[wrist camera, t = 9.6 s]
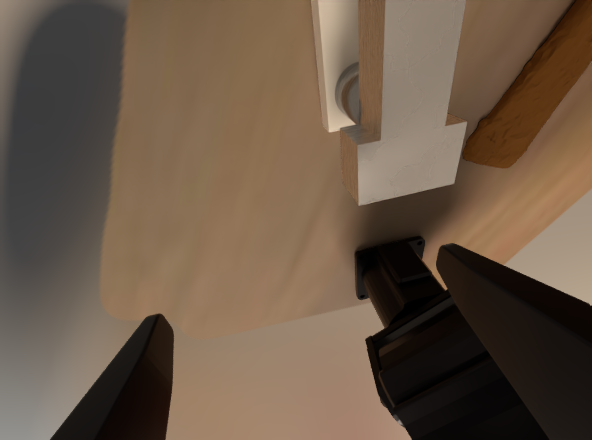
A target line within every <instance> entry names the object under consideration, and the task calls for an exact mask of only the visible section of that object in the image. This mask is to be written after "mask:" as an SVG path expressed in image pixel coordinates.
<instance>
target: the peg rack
mask: <svg viewBox="0 0 592 440" xmlns="http://www.w3.org/2000/svg"><path fill="white" fill-rule="evenodd" d="M311 8H312V19H313V29H314V40H315V50H316V61H317V71H318V81H319V92H320V102H321V113H322V123H323V126H324V127H325V128H326V130H327V131H328V132H334V131H338V130H340V128H341V127H345V126H350V125H355V124H360V112H359V41H358V0H311Z"/></svg>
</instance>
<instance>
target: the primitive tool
mask: <svg viewBox="0 0 592 440" xmlns="http://www.w3.org/2000/svg"><path fill="white" fill-rule="evenodd" d="M591 61H592V0H576V1H575V3H574V4H573V5H572V7H571V8H570V9H569V11H568V12H567V13H566V15H565V16H564V17H563V19H562V20H561V22H560V23H559V24H558V26H557V27H556V29H555V30H554V31H553V33H552V34H551V35H550V36H549V38H548V39H547V40H546V42H545V43H544V44H543V45H542V47H541V48H539V49H538V50H537V51H536V53H535V54H534V56H533V58H532V60H531V61H529V62H528V63H527V64H526V65H525V67H524V69H523V71H522V73H521V74H520V75H519V76H518V77H517V79H516V81H515V83H514V84H513V85H512V86H511V87H510V88H509V90H508V91H507V92H506V93H505V94H504V95H503V97H502V99H501V100H500V101H499V103H498V104H497V105H496V106H495V107H494V109H493V110H492V111H491V113H490V114H489V115H488V116H487V117H486V118H485V119H482V120H481V121H480V122H479V125H478V128H477V129H476V131H475V132H474V133H473V134H472V135H471V136H470V137H469V139H468V140H467V142H466V144H467V145H466V146H465V148H464V150H463V158H464V159H465V160H466V161H472V162H474V163H477V164H482V165H487V166H492V167H497V168H508V167H510V166H512V165H513V164H514V163H515V162H516V161H517V159H519V158H520V157H521V156H522V155H523V154H524V153H525V151H526V150H527V148H528V146H529V145H530V143H531V142H532V141H533V139H534V138H535V137H536V135H537V134H538V132H539V131H540V129H541V128H542V127H543V125H544V124H545V123H546V121H547V120H548V119H549V117H550V116H551V114H552V113H553V111H554V110H555V109H556V107H557V106H558V105H559V103H560V102H561V101H562V99H563V98H564V97H565V95H566V94H567V93H568V91H569V90H570V89H571V87H572V86H573V85H574V84H575V82H576V81H577V80H578V79H579V77H580V76H581V75H582V73H583V72H584V71H585V69H586V68H587V66H588V65H589V63H590V62H591Z"/></svg>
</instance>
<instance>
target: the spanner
mask: <svg viewBox="0 0 592 440" xmlns="http://www.w3.org/2000/svg"><path fill="white" fill-rule="evenodd" d="M465 3H466V0H358V41H359V112H360V124H355V125H350V126H345V127H341V128H340V145H341V163H342V180H343V184H344V185H345V187H346V188H347V190H348V191H349V193H350V194H351V195H352V197H353V198H354V200H355V201H356V203H357V204H358V206H361V205H365V204H369V203H373V202H378V201H382V200H386V199H391V198H395V197H399V196H404V195H408V194H412V193H416V192H421V191H425V190H429V189H434V188H438V187H442V186H446V185H451V184H454V182H455V177H456V173H457V168H458V163H459V159H460V154H461V149H462V144H463V140H464V135H465V130H466V126H467V121H465V120H463V119H460V118H458V117H456V116H453V115H451V114H449V113H447V111H448V105H449V99H450V93H451V87H452V81H453V75H454V69H455V63H456V57H457V51H458V45H459V39H460V33H461V27H462V21H463V15H464V9H465Z"/></svg>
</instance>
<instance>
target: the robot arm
mask: <svg viewBox="0 0 592 440" xmlns="http://www.w3.org/2000/svg"><path fill="white" fill-rule="evenodd" d="M424 245H425V240H424V239H423V238H422V237H421V236H417V237H413V238H409V239H405V240H401V241H397V242H393V243H389V244H385V245H381V246H377V247H373V248H369V249H365V250H361V251H358V252H357V253H356V254H355V275H356V295H357V298H358V299H359V300H363V299H367V298H370V300H371V302H372V304H373V306H374V308H375V310H376V312H377V314H378V316H379V318H380V320H381V322H382V324H383V326H384V329H383V330H381V331H380V332H378V333H376V334H375V335H373V336H369V337H368V338H366V340H365V341H366V345H367V351H368V356H369V359H370V363H371V368H372V372H373V375H374V380H375V384H376V388H377V392H378V395H379V396H380V401H381V403H382V404H383V406H384V407H386V408H388V410H389V412H390V413H391V415H392V416H393V418H394V419H395V420H396V421H397V422H398V423H399V424H400V425H401V426H403V427H405V428H406V430H407V432H408V434H409V435H410V437H411V438H412V440H592V306H590V304H588V303H586V302H584V301H582V300H580V299H577V298H575V297H573V296H570V295H568V294H566V293H564V292H562V291H560V290H557V289H555V288H553V287H551V286H548V285H546V284H544V283H542V282H539V281H537V280H535V279H533V278H530V277H528V276H526V275H524V274H522V273H519V272H517V271H515V270H513V269H510V268H508V267H506V266H504V265H502V264H499V263H497V262H495V261H493V260H490V259H488V258H486V257H484V256H481V255H479V254H477V253H475V252H473V251H470V250H468V249H466V248H464V247H461V246H459V245H457V244H454V243H450V244H446V245H442V246H441V247H440V248H439V252H438V256H437V261H436V267H437V270H438V272H439V274H440V276H441V278H442V279H443V281H444V283H445V285H446V287H447V288H448V289H447V290H446V291H445V289H444V288H443V287H442V286H441V284H440V283H439V282H438V281H437V279H436V278H435V277H434V275H433V274H432V272H431V270H430V269H429V268H428V267H427V265H426V264H425V263H424V262H423V260H422V257H423V251H424ZM360 256H361V257H360ZM173 344H174V334H173V329H172V327H171V326H170V324H169V323H168V321H167V320H166V319H165V317H164V316H163V315H162V314H155V315H151V316H148V317H146V318H145V319H144V320H143V322H142V323H141V324H140V326H139V327H138V328H137V329H136V331H135V332H134V333H133V334H132V336H131V337H130V338H129V340H128V341H127V342H126V343H125V345H124V346H123V347H122V348H121V350H120V351H119V352H118V354H117V355H116V356H115V358H114V359H113V360H112V361H111V362H110V364H109V365H108V366H107V368H106V369H105V370H104V371H103V373H102V374H101V375H100V377H99V378H98V379H97V380H96V382H95V383H94V384H93V385H92V387H91V388H90V389H89V391H88V392H87V393H86V394H85V396H84V397H83V398H82V399H81V401H80V402H79V403H78V405H77V406H76V407H75V408H74V410H73V411H72V412H71V413H70V415H69V416H68V417H67V419H66V420H65V421H64V423H63V424H62V425H61V426H60V428H59V429H58V430H57V431H56V433H55V434H54V435H53V436H52V438H51V439H50V440H165V439H166V432H167V424H168V417H169V408H170V401H171V394H172V384H173V348H174V345H173Z"/></svg>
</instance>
